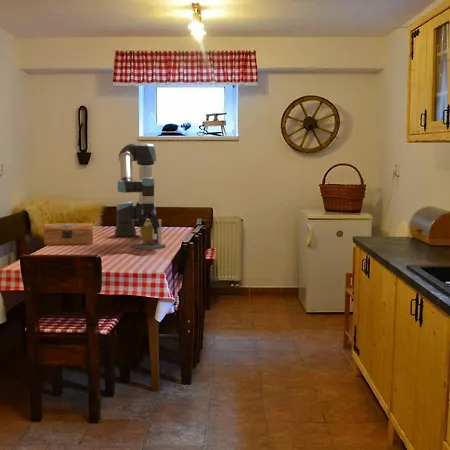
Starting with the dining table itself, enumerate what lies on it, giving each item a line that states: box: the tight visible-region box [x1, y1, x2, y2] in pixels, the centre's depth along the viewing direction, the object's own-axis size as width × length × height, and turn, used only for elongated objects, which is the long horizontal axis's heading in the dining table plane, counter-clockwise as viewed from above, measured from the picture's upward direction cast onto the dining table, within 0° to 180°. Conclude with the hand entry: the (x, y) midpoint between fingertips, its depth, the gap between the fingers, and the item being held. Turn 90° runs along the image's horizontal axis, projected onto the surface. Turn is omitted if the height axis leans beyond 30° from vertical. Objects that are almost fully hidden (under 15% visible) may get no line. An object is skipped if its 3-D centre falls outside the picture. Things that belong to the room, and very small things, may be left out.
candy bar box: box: [142, 219, 162, 244], centre depth 392 cm, size 11×5×16 cm, turn 71°
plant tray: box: [130, 242, 167, 251], centre depth 375 cm, size 15×15×2 cm
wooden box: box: [43, 222, 94, 246], centre depth 388 cm, size 30×16×14 cm, turn 102°
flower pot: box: [141, 226, 153, 242], centre depth 374 cm, size 9×9×9 cm
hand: (148, 238), depth 374 cm, fingers closed on flower pot, 12 cm apart
